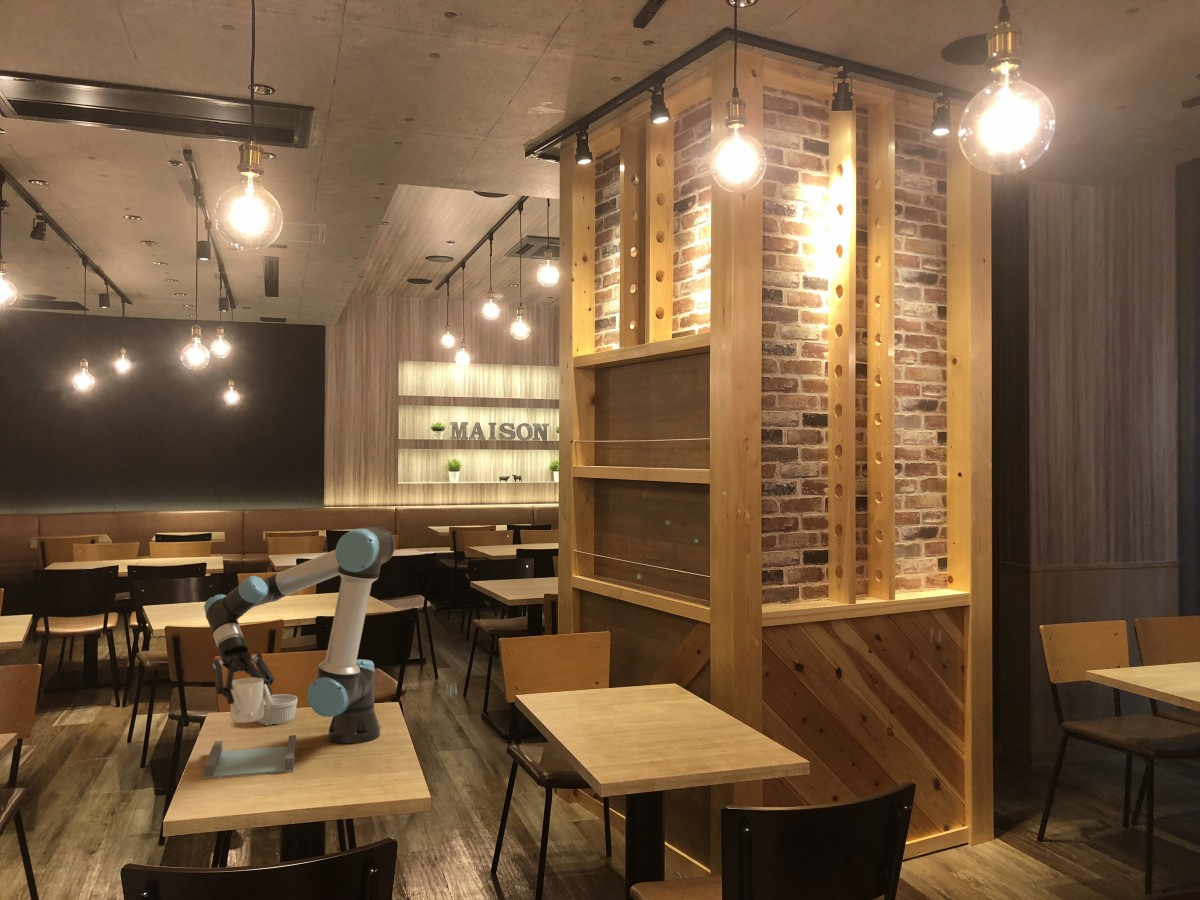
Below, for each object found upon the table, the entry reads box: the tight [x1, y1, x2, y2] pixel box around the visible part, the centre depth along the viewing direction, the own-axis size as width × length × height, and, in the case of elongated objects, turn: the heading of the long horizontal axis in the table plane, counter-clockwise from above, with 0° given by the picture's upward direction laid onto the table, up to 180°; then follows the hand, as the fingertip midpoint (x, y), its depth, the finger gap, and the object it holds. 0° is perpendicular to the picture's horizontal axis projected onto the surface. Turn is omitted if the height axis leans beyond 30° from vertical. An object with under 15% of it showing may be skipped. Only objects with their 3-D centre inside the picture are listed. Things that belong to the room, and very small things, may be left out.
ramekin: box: [256, 693, 298, 726], centre depth 298 cm, size 13×13×7 cm
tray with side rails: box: [204, 734, 297, 780], centre depth 256 cm, size 22×22×4 cm
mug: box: [230, 676, 263, 724], centre depth 259 cm, size 9×12×11 cm
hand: (254, 709), depth 257 cm, fingers closed on mug, 8 cm apart
